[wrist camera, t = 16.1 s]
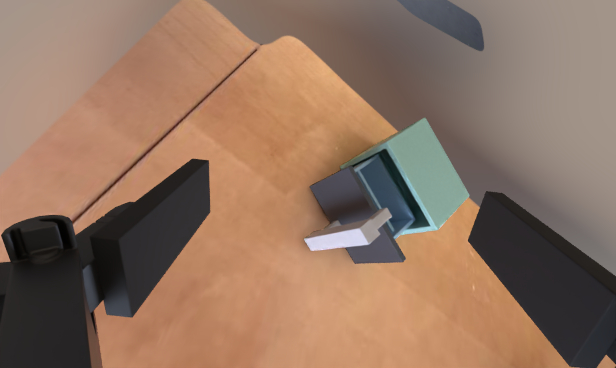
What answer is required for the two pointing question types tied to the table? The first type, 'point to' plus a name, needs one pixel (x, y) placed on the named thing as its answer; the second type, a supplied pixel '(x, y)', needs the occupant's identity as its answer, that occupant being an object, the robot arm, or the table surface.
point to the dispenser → (419, 175)
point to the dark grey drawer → (362, 213)
